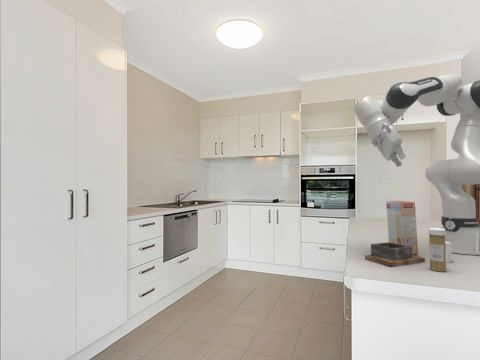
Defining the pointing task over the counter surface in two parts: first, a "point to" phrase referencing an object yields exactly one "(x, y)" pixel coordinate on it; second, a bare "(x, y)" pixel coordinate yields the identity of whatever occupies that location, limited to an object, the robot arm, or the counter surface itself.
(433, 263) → the sprinkles bottle
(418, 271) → the counter surface
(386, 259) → the stand
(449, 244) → the white cup
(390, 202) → the cracker box
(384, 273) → the counter surface
